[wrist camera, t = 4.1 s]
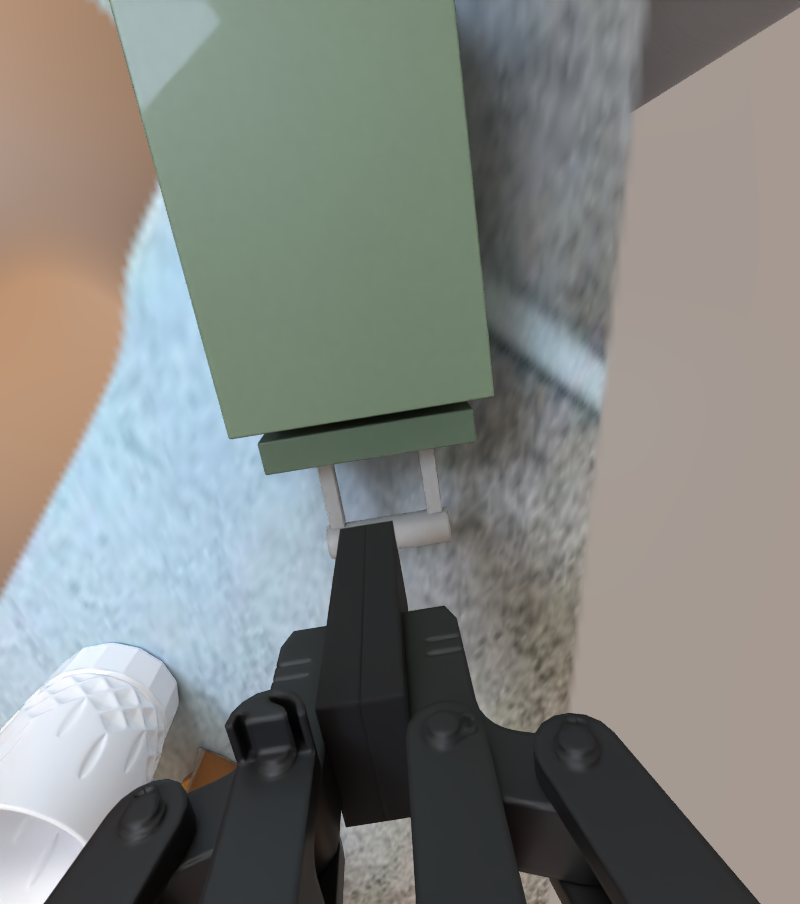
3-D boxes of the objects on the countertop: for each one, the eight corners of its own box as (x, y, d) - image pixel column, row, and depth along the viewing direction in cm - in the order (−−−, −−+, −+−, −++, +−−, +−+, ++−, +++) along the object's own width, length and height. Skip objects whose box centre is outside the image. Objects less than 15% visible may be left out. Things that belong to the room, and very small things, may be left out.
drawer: (464, 493, 26) (491, 565, 20) (316, 517, 27) (295, 596, 20) (408, 55, 20) (421, -43, 14) (217, 88, 21) (144, 5, 14)
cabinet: (457, 356, 25) (494, 397, 17) (276, 385, 25) (228, 440, 17) (411, -25, 20) (433, -219, 12) (189, 14, 21) (65, -154, 12)
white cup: (165, 620, 29) (61, 789, 20) (208, 731, 32) (135, 927, 22) (24, 646, 29) (-144, 825, 20) (78, 753, 32) (-49, 958, 22)
